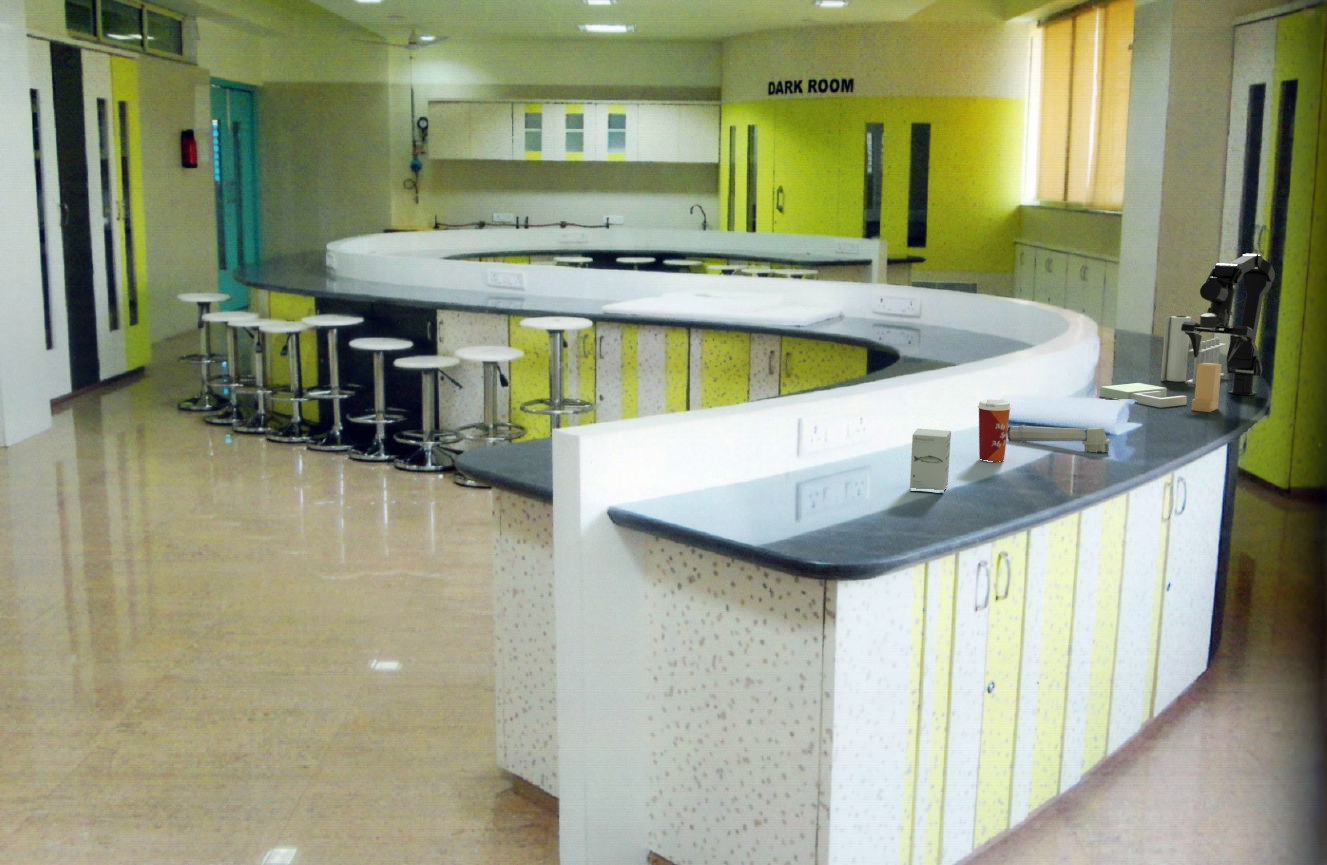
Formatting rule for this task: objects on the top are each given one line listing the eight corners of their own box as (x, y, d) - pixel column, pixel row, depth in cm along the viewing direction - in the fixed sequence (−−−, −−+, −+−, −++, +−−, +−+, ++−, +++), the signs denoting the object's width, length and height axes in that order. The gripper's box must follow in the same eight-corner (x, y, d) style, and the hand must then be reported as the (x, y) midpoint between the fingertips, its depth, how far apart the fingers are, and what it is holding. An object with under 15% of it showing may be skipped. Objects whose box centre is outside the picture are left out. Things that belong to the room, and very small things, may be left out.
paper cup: (1003, 465, 276) (1006, 406, 274) (970, 461, 280) (973, 403, 278) (1012, 458, 283) (1015, 400, 280) (980, 455, 287) (983, 397, 284)
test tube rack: (1199, 385, 386) (1202, 344, 383) (1185, 383, 389) (1188, 343, 386) (1224, 376, 404) (1227, 337, 401) (1210, 374, 407) (1214, 336, 404)
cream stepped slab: (1137, 392, 372) (1138, 382, 371) (1195, 403, 353) (1196, 393, 352) (1099, 396, 365) (1100, 386, 365) (1156, 408, 346) (1157, 397, 345)
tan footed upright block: (1199, 406, 348) (1203, 362, 345) (1217, 408, 344) (1221, 364, 342) (1191, 410, 343) (1195, 365, 340) (1209, 412, 339) (1213, 367, 337)
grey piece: (1013, 423, 306) (1111, 422, 289) (1015, 449, 306) (1113, 449, 290) (1005, 427, 302) (1104, 425, 285) (1007, 452, 302) (1106, 453, 286)
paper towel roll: (1187, 380, 395) (1192, 315, 390) (1184, 382, 390) (1189, 317, 385) (1164, 378, 398) (1169, 314, 394) (1160, 381, 393) (1165, 316, 389)
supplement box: (908, 492, 253) (911, 434, 250) (914, 484, 260) (916, 427, 257) (944, 495, 250) (946, 436, 248) (949, 486, 257) (951, 429, 254)
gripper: (1178, 299, 348) (1168, 352, 348) (1244, 303, 334) (1234, 358, 335) (1192, 306, 355) (1183, 357, 356) (1258, 310, 342) (1248, 363, 343)
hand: (1211, 359), depth 347 cm, fingers open, 9 cm apart
